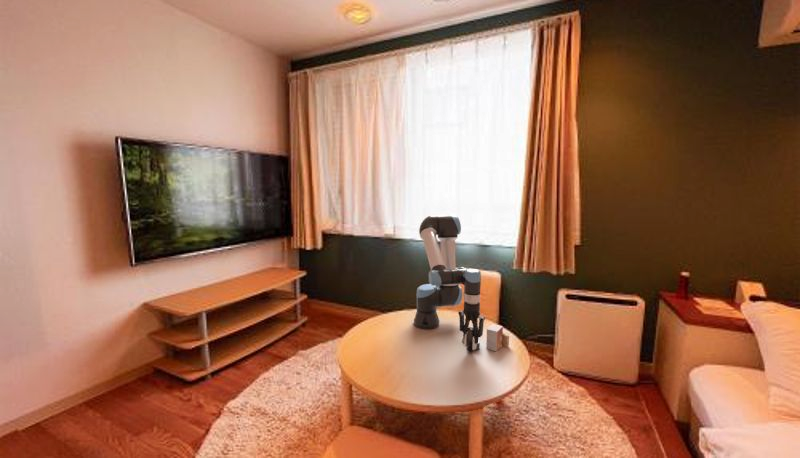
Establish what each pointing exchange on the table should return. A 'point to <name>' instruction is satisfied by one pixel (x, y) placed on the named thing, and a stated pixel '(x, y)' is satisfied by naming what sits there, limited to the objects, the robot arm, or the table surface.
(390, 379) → the table surface
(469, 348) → the lever
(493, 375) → the table surface
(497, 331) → the small box
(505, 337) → the backstop
